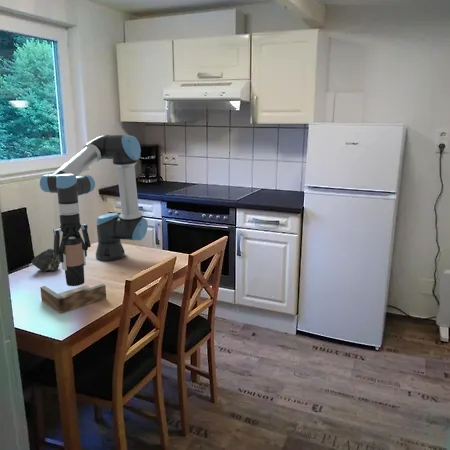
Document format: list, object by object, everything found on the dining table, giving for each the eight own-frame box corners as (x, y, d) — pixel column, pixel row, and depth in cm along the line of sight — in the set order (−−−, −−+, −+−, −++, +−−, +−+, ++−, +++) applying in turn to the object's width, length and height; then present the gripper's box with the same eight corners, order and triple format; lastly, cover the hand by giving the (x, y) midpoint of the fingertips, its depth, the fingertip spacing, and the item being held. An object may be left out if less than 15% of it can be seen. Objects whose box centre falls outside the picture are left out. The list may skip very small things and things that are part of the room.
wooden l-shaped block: (86, 287, 194) (85, 274, 193) (106, 298, 183) (105, 285, 181) (41, 300, 181) (40, 287, 179) (60, 313, 169) (58, 299, 167)
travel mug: (86, 284, 181) (82, 238, 176) (66, 287, 177) (62, 240, 172) (83, 278, 187) (79, 233, 182) (64, 281, 184) (60, 235, 179)
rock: (54, 258, 224) (50, 244, 217) (67, 267, 220) (63, 253, 213) (34, 273, 216) (29, 259, 209) (47, 282, 212) (42, 267, 205)
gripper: (88, 207, 184) (92, 259, 190) (39, 215, 170) (45, 270, 176) (97, 210, 179) (101, 263, 185) (48, 218, 165) (54, 275, 171)
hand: (74, 266), depth 181 cm, fingers closed on travel mug, 8 cm apart
